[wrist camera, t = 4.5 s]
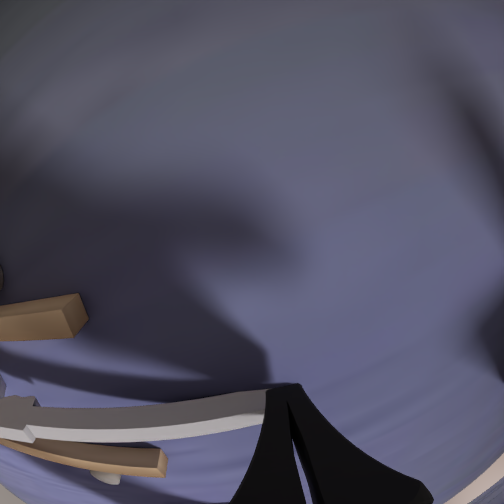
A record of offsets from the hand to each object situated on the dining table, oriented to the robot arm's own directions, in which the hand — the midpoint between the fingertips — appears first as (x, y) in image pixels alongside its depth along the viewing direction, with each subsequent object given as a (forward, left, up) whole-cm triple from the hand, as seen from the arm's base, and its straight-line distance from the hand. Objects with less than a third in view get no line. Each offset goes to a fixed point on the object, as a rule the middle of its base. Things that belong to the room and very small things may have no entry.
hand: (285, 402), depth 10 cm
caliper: (0, +9, -2) cm, 9 cm away
